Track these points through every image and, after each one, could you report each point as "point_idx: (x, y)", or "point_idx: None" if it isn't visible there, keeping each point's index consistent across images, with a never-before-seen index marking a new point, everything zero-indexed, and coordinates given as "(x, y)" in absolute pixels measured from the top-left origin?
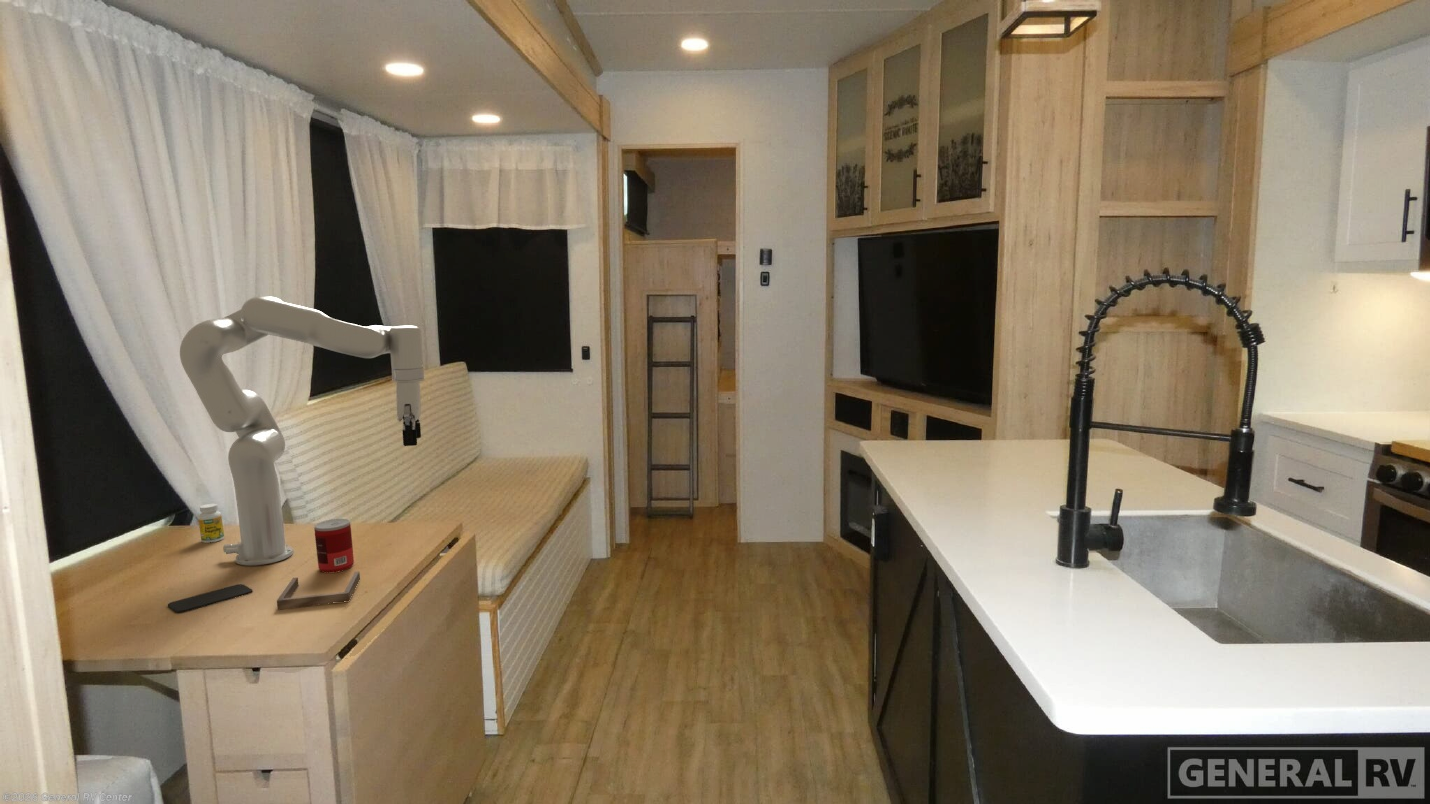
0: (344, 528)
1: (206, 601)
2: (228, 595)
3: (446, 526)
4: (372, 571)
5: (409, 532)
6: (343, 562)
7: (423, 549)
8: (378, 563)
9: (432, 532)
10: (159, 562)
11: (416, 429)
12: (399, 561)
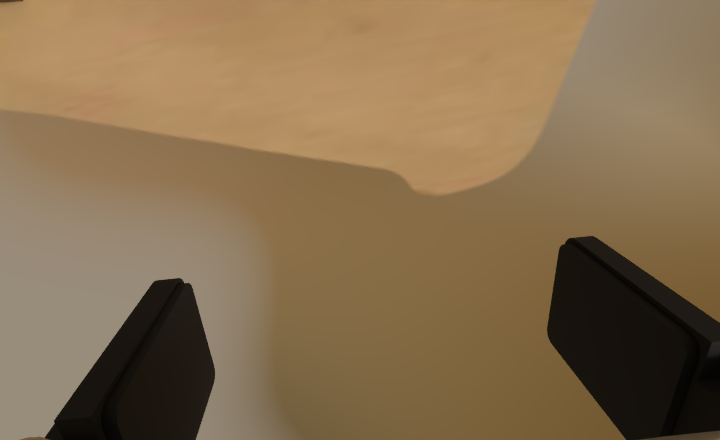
0: None
1: None
2: None
3: (490, 172)
4: (100, 25)
5: (468, 69)
6: None
7: (288, 143)
8: (174, 28)
9: (444, 141)
10: None
11: (602, 375)
12: (188, 93)
